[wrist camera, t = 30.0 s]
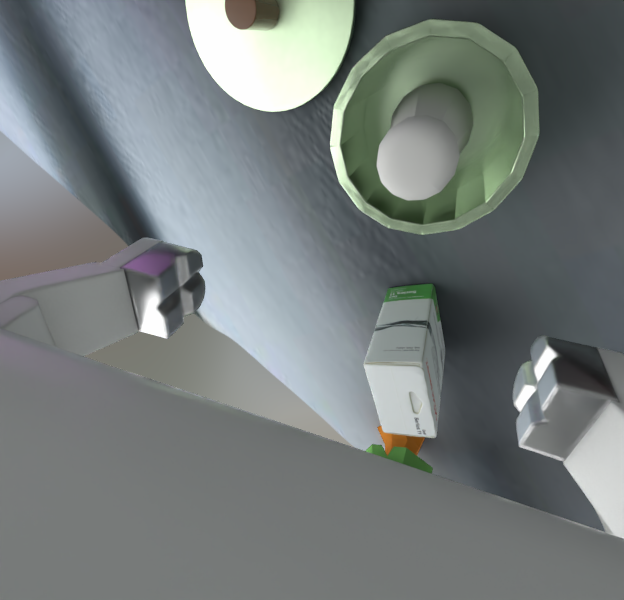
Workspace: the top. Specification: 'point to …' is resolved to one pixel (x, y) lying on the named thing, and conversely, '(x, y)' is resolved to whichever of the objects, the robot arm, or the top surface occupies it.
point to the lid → (272, 47)
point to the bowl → (485, 112)
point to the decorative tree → (401, 450)
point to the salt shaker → (424, 141)
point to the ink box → (407, 361)
